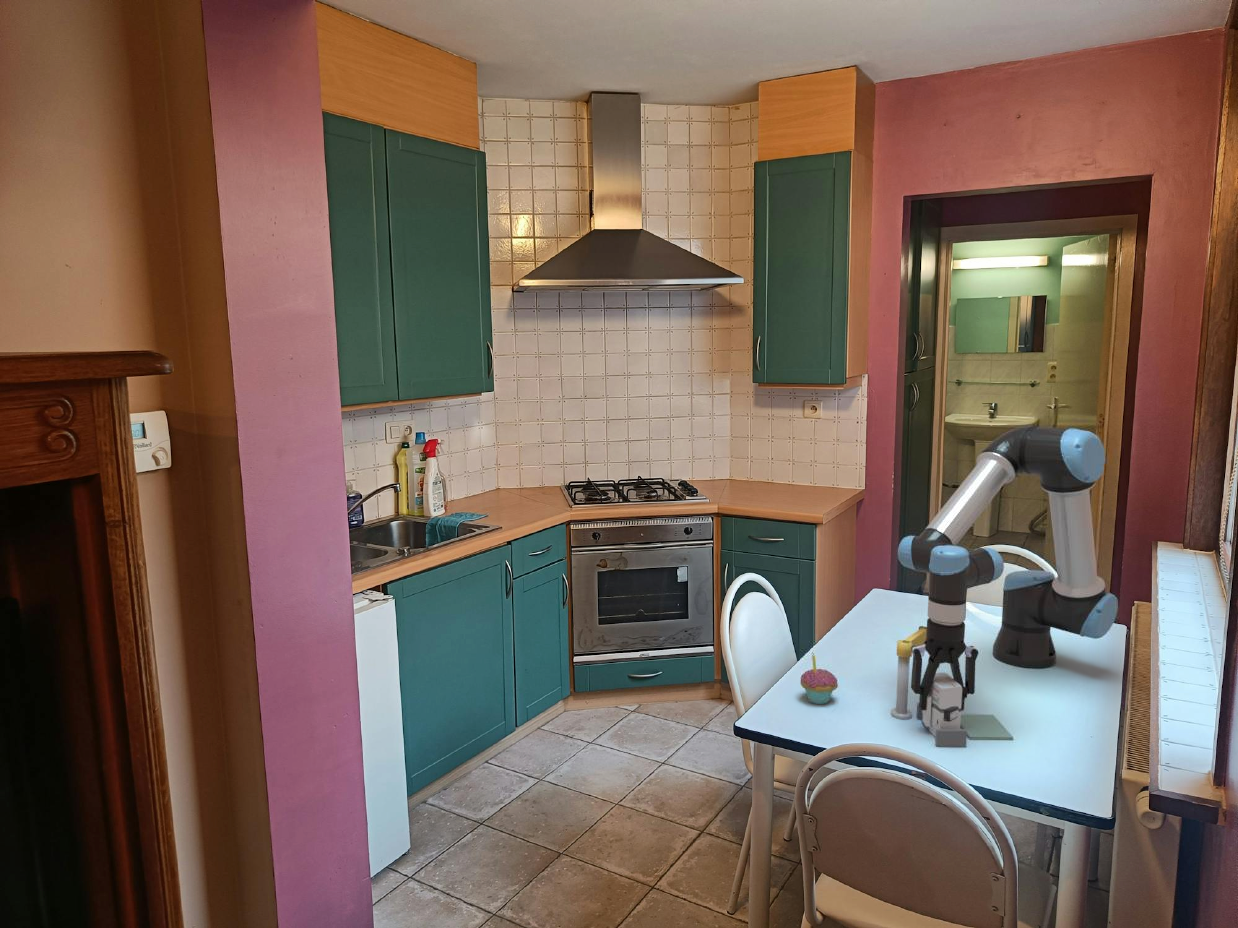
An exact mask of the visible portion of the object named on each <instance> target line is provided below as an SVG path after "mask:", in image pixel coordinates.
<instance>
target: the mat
mask: <svg viewBox="0 0 1238 928" xmlns="http://www.w3.org/2000/svg"><path fill="white" fill-rule="evenodd" d="M960 729H966V731H967V738H968V739H969V740H971V741H972V740H975V741H977V740H981V741H983V740H984V741H985V740H986V741H988V740H989V741H990V740H991V741H992V740H993V741H1014V736H1013V735H1012V734H1011V733H1010V731H1008V729H1006V728H1005V726H1004V725H1003V724H1002V723H1001V722H1000V721H999V720H998V718H997V717H995V715H994V714H969V713H968V714H965V713H963V714H962V713H961V723H960Z"/></svg>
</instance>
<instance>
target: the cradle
mask: <svg viewBox="0 0 1238 928" xmlns="http://www.w3.org/2000/svg"><path fill="white" fill-rule="evenodd" d="M897 658H898V659H897V676H896V677H897V678H896V679H897V680H896V681H897V682H896V699H895V701H896V703H895V705H896V706H895V707H894V708H892V709H891V710H890V715H891V716H892V718H895V719H897V720H910V719H912V717H913V716H912V715H913V713H912V711H911V710H910V709H908V705H909V704H908V702H909V682H910V681H909V680H910V661H911V660H910V658H911V657H909V658H903V657H899V656H897ZM915 715H916V716H915V717H916V719H917V720H922V710H921V708H920V706H919V701H918V702H916V714H915ZM934 738H935V739H934V741H935V742H934V745H935V746H936V748H967V738H968V737H967V731H966V729H961V728H960V729H936V737H934Z"/></svg>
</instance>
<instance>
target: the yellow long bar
mask: <svg viewBox="0 0 1238 928" xmlns="http://www.w3.org/2000/svg"><path fill="white" fill-rule="evenodd" d="M926 633H927V626H923V625H920V626H918V630H916V631H914V633H912V634H911V635H909V636H908V637H907V638H905V639H900V640H897V641H896V656H897V657H898V656H899V657H903V658H909V657H910V658H911V657H912V658H913V654H912V650H911V647H912V646H916V647H918V646H921V645H924V642H925V641H926Z"/></svg>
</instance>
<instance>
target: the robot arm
mask: <svg viewBox="0 0 1238 928" xmlns="http://www.w3.org/2000/svg"><path fill="white" fill-rule="evenodd" d="M980 452H981V453H980V454H979V455H977V457H976V466H974V468H973V469H972V471H971V472H970V473H969V474H968V476H966V478H965V479H964V480H963V482H961V484H960V485H959V486H958V487H957V489H956V490H955V492H954V493H952V495H951V496H950V497H949V499H948V501H946V503H945V504H944V505H943V507H942V508H941V509H940V510H939V511H938V513H937V514H936V515H935V516H934V518H933V519H932V520H931V522H929V524H928V525H927V526H926V527H925V529H924V530H923V531H922V532H921V534H920V535H919V536H917V535H907V536H904V537H903V538H902V540H900V543H899V545H898V548H897V559H898V561H899V562H900V564H901V566H903V567H905V568H908V569H910V570H913V571H916V572H922V573H925V574H929V576H928V578H929V580H928V600H927V601H928V602H927V614H926V615H927V619H926V627H927V633H926V641H925V642H924V645H921V646H918V647H916V646H912V647H911V650H912V669H911V680H910V689H911V690H912V692H913V693H914V694H915V695H919V699H918V700H919V701H918V702H919V706H920V708H921V710H923V722H924V724H925V725H926V726H927V727H930V720H931V701H932V697H931V696H930V695H929V691H930V688H931V685H932V682H933V679H934V677H935V674H936V673H937V671H938V669H939V668H940V665H941V664H945V663H946V664H949V665H950V670H951V674H952V678H953V679H954V680H955V681H956V682H957V683H959V684H960V685H961V687H962V703H961V712H962V711H964V710H965V702H966V701H965V700H966V699H967V698H968V695H974V694H975V691H976V689H975V688H976V686H975V685H976V660H977V658H978V656H979V654H980V653H979V650H978V649H976V648H975V647H974V645H966V643H965V636H966V635H965V631H966V624H965V621H966V620H967V619H966V617H967V615H966V613H967V612H966V611H967V594H968V593H967V592H968V589H971V588H974V587H978V586H982V585H987V584H990V583H992V582H994V581H996V580H998V579H1000V577H1001V576H1002V575H1003V573H1004V569H1005V567H1004V560H1003V557H1002V556H1001V554H1000V553H999V552H998V551H997V550H995V549H994V548H991V547H977V548H969V547H965V546H961V545H957V544H958V543H959V542H960V540H961V539H962V538H963V537H964V536H965V535H966V533H967V532H968V530H969V529H970V528H971V527H972V526H973V525H974V523H975V522H976V520H977V519H978V518H979V517H980V515H981V514H982V513H983V511H985V509H986V508H987V506H988V505H989V504H990V503H991V501H992V500H993V499H994V497H996V495H997V493H999V491H1000V490H1001V488H1002V487H1003V486H1004V485H1005V484H1009V483H1011V482H1012V481H1014V479H1015V478H1016V477H1017V476H1019V475H1022V474H1028V475H1034V476H1038V477H1039V483H1040V488H1041V489H1042V490H1043V491H1045V492H1046V493H1047V494H1048V499H1049V500H1048V501H1049V510H1050V517H1051V519H1050V520H1051V526H1052V536H1053V545H1054V555H1055V556H1054V557H1055V565H1056V574H1057V577H1055V573H1053V572H1050V571H1046V570H1045V571H1044V570H1033V569H1032V570H1031V569H1030V570H1028V569H1027V570H1026V569H1025V570H1015V571H1012V572H1009V573H1008V574H1007V575H1005V578H1004V582H1003V588H1002V592H1003V593H1002V608H1001V609H1002V612H1001V613H1002V614H1001V626H1000V628H999V631H998V633H997V636H996V638H995V640H994V643H993V645H992V655H993V657H994V658H995V659H996V660H999V661H1001V662H1003V663H1006V664H1009V665H1012V666H1016V667H1021V668H1029V669H1030V668H1032V669H1044V668H1050V667H1052V666H1054V665H1055V664H1056V661H1057V652H1056V649H1055V644H1054V641H1053V637H1052V635H1051V628H1052V629H1056V630H1060V631H1063V632H1068V633H1072V634H1076V635H1079V636H1080V637H1082V638H1083V637H1086V638H1090V639H1093V640H1094V639H1101V638H1103V637H1104V636H1105V635H1107V633H1108V632H1109V631H1110V630H1111V628H1112V627H1113V624H1114V623H1115V620H1116V617H1117V614H1118V607H1119V601H1118V598H1117V597H1116V595H1114V594H1112V593H1111V592H1107V591H1106V590H1107V588H1106V582H1105V581H1104V579H1103V578H1102V577H1100V576H1098V571H1097V569H1098V568H1097V557H1096V549H1095V539H1094V530H1093V529H1094V528H1093V517H1092V506H1091V496H1090V494H1091V493H1090V490H1091V489H1092V488H1093V487H1095V485H1096V481H1098V480H1099V479H1100V478H1101V477H1102V475H1103V473H1104V470H1105V466H1104V465H1105V464H1106V452H1105V448H1104V445H1103V443H1102V440H1101V439H1100V438H1099V437H1098V435H1096V434H1095V433H1093V432H1091V431H1088V430H1084V429H1078V428H1073V427H1072V428H1066V427H1065V428H1063V427H1049V426H1038V425H1023V426H1018V427H1016V428H1013V429H1011V430H1009V431H1006V432H1005V433H1002V434H1001V435H999V436H998V437H997V438H995V439H994V440H993V441H991V442H990V443H989V444H987V445H986V446H985V448H983V450H982V451H980ZM925 652H927V653H928V655H929V656H928V659H927V665H926V668H925V671H924V674H923V677H922V667H923V657H924V656H925ZM963 653H964V656H965V666H964V667H965V668H964V680H963V676H962V672H961V669H960V668H961V666H960V662H959V659H960V657H961V656H962V655H963Z"/></svg>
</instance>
